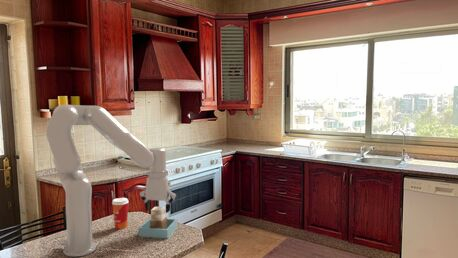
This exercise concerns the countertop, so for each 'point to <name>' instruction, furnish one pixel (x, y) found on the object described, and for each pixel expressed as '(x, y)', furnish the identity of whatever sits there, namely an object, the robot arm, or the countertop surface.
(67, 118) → the robot arm
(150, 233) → the tote
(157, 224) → the walnut block
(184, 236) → the countertop surface
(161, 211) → the birch block
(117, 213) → the paper cup
